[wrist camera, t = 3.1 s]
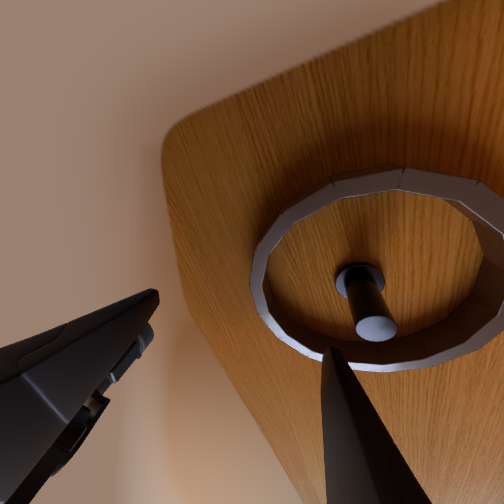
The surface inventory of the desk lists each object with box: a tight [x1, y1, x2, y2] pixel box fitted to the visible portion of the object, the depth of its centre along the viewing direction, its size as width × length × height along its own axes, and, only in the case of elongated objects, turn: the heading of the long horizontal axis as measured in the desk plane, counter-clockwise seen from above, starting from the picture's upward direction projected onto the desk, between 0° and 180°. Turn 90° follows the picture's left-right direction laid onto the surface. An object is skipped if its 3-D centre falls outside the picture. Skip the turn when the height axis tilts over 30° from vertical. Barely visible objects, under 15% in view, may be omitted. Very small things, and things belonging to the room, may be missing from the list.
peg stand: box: [335, 262, 398, 341], centre depth 12 cm, size 3×3×4 cm
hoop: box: [249, 164, 504, 372], centre depth 13 cm, size 15×15×2 cm
